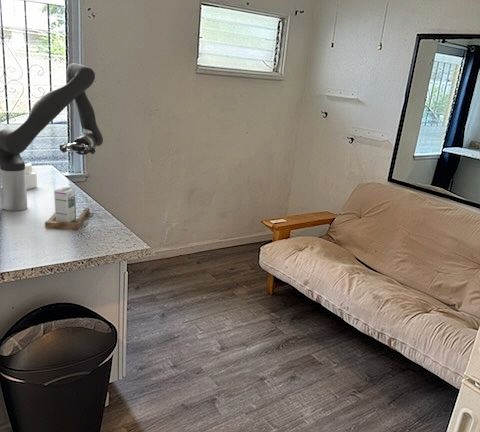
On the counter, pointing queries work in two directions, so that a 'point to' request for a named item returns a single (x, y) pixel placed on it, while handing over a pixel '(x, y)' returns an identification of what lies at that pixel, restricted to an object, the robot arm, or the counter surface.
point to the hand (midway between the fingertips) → (74, 151)
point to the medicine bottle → (30, 176)
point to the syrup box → (65, 205)
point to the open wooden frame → (68, 225)
